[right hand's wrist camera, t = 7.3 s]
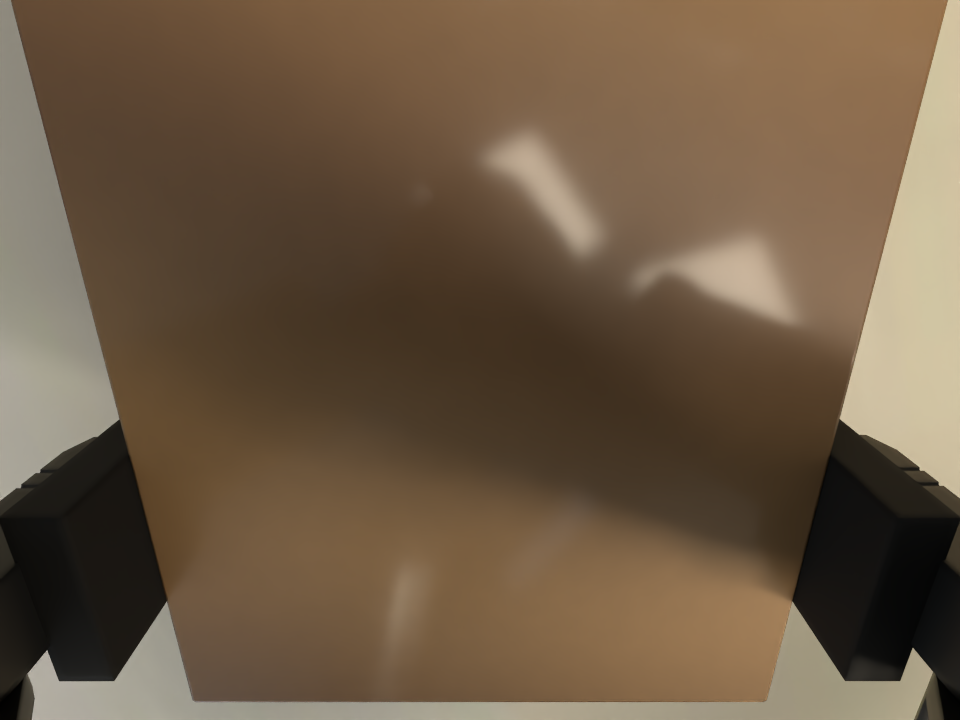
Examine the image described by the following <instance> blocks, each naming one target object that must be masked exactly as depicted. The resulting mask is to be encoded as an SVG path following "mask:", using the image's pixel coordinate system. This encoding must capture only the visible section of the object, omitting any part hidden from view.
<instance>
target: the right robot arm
mask: <svg viewBox="0 0 960 720" xmlns="http://www.w3.org/2000/svg"><path fill="white" fill-rule="evenodd" d="M40 471H41V472H40V473H36V474H34V475H33V476H32V477H30V478H29V479H28V480H27V481H25V482H24V483H23V484H21V488H16V489H15V490H14V491H12V492H11V493H10V494H9V495H7V496H6V497H5V498H3V499H2V500H1V501H0V720H31V719H32V713H33V706H34V699H35V698H34V693H33V687H32V684H31V682H30V679H29V677H28V674H27V673H28V672H29V671H30V670H31V669H32V667H33V666H34V665H35V664H36V663H37V661H38V660H39V659H40V658H41V657H42V655H43V654H44V653H45V652H46V651H47V650H48V653H49V655H50V658H51V661H52V663H53V666H54V669H55V671H56V674H57V677H58V679H59V681H114V680H115V679H116V677H117V676H118V674H119V673H120V671H121V670H122V668H123V667H124V665H125V664H126V662H127V661H128V659H129V658H130V656H131V655H132V653H133V652H134V650H135V649H136V647H137V646H138V644H139V643H140V641H141V640H142V638H143V637H144V635H145V634H146V632H147V631H148V629H149V627H150V626H151V624H152V623H153V621H154V620H155V618H156V617H157V615H158V614H159V612H160V611H161V609H162V608H163V606H164V605H165V603H166V602H167V599H166V595H165V592H164V588H163V584H162V580H161V576H160V572H159V568H158V565H157V561H156V557H155V553H154V549H153V545H152V542H151V538H150V534H149V530H148V526H147V522H146V518H145V515H144V511H143V507H142V503H141V499H140V495H139V491H138V488H137V484H136V480H135V476H134V472H133V468H132V465H131V461H130V457H129V453H128V449H127V445H126V441H125V438H124V434H123V430H122V426H121V422H120V419H119V420H118V421H117V422H116V423H114V424H113V425H112V426H111V427H109V428H108V429H107V430H106V431H104V432H103V433H102V434H101V435H100V436H98V437H93V438H91V439H89V440H87V441H85V442H83V443H81V444H79V445H77V446H75V447H73V448H71V449H68V450H66V451H64V452H63V453H61V454H60V455H59V456H57V457H56V458H55V459H54V460H52V461H51V462H50V463H48V464H47V465H46V466H45V467H43V468H42V469H41V470H40ZM938 483H939V482H938V481H936V480H935V479H934V478H933V477H931V476H930V475H929V474H927V473H926V472H925V471H920V470H919V467H918V466H917V465H916V464H914V463H913V462H912V461H910V460H909V459H908V458H907V457H905V456H904V455H903V454H901V453H900V452H899V451H898V450H896V449H894V448H892V447H890V446H888V445H886V444H884V443H881V442H879V441H877V440H875V439H873V438H871V437H869V436H867V435H859V434H857V433H856V432H855V431H854V430H852V429H851V428H850V427H849V426H847V425H846V424H845V423H844V422H842V421H841V420H840V419H839V422H838V426H837V430H836V434H835V438H834V442H833V446H832V449H831V453H830V457H829V461H828V465H827V469H826V473H825V477H824V480H823V484H822V488H821V492H820V496H819V500H818V504H817V507H816V511H815V515H814V519H813V523H812V527H811V531H810V534H809V538H808V542H807V546H806V550H805V554H804V558H803V561H802V565H801V569H800V573H799V577H798V581H797V585H796V588H795V592H794V596H793V600H792V601H793V603H794V604H795V606H796V607H797V609H798V610H799V612H800V613H801V615H802V616H803V618H804V619H805V621H806V622H807V624H808V625H809V627H810V628H811V630H812V631H813V633H814V634H815V636H816V638H817V639H818V641H819V642H820V644H821V645H822V647H823V648H824V650H825V651H826V653H827V654H828V656H829V657H830V659H831V660H832V662H833V663H834V665H835V666H836V668H837V669H838V671H839V672H840V674H841V675H842V677H843V678H844V680H845V681H900V680H901V677H902V674H903V672H904V669H905V666H906V664H907V661H908V659H909V656H910V653H911V651H912V648H914V649H915V650H916V652H917V653H918V654H919V655H920V656H921V658H922V659H923V660H924V661H925V662H926V664H927V665H928V666H929V667H930V668H931V670H932V671H933V674H932V677H931V679H930V682H929V684H928V687H927V689H926V692H925V694H924V697H923V699H922V702H921V704H920V707H919V709H918V712H917V714H916V717H915V719H914V720H960V498H958V497H957V496H956V495H955V494H953V493H952V492H951V491H949V490H948V489H947V488H945V487H944V486H939V484H938Z"/></svg>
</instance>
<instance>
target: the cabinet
mask: <svg viewBox="0 0 960 720" xmlns="http://www.w3.org/2000/svg"><path fill="white" fill-rule="evenodd" d="M947 2H948V0H11V3H12V6H13V10H14V14H15V18H16V22H17V26H18V30H19V33H20V37H21V41H22V45H23V49H24V53H25V56H26V60H27V64H28V68H29V72H30V76H31V80H32V83H33V87H34V91H35V95H36V99H37V103H38V107H39V110H40V114H41V118H42V122H43V126H44V130H45V133H46V137H47V141H48V145H49V149H50V153H51V157H52V160H53V164H54V168H55V172H56V176H57V180H58V184H59V187H60V191H61V195H62V199H63V203H64V207H65V210H66V214H67V218H68V222H69V226H70V230H71V234H72V237H73V241H74V245H75V249H76V253H77V257H78V261H79V264H80V268H81V272H82V276H83V280H84V284H85V287H86V291H87V295H88V299H89V303H90V307H91V311H92V314H93V318H94V322H95V326H96V330H97V334H98V338H99V341H100V345H101V349H102V353H103V357H104V361H105V364H106V368H107V372H108V376H109V380H110V384H111V388H112V391H113V395H114V399H115V403H116V407H117V411H118V414H119V418H120V422H121V426H122V430H123V434H124V438H125V441H126V445H127V449H128V453H129V457H130V461H131V465H132V468H133V472H134V476H135V480H136V484H137V488H138V491H139V495H140V499H141V503H142V507H143V511H144V515H145V518H146V522H147V526H148V530H149V534H150V538H151V542H152V545H153V549H154V553H155V557H156V561H157V565H158V568H159V572H160V576H161V580H162V584H163V588H164V592H165V595H166V599H167V603H168V607H169V611H170V615H171V619H172V622H173V626H174V630H175V634H176V638H177V642H178V645H179V649H180V653H181V657H182V661H183V665H184V669H185V672H186V676H187V680H188V684H189V688H190V692H191V696H192V699H193V701H195V702H764V701H766V700H767V697H768V693H769V689H770V685H771V681H772V677H773V673H774V670H775V666H776V662H777V658H778V654H779V650H780V646H781V643H782V639H783V635H784V631H785V627H786V623H787V619H788V616H789V612H790V608H791V604H792V600H793V596H794V592H795V588H796V585H797V581H798V577H799V573H800V569H801V565H802V561H803V558H804V554H805V550H806V546H807V542H808V538H809V534H810V531H811V527H812V523H813V519H814V515H815V511H816V507H817V504H818V500H819V496H820V492H821V488H822V484H823V480H824V477H825V473H826V469H827V465H828V461H829V457H830V453H831V449H832V446H833V442H834V438H835V434H836V430H837V426H838V422H839V419H840V415H841V411H842V407H843V403H844V399H845V395H846V392H847V388H848V384H849V380H850V376H851V372H852V368H853V365H854V361H855V357H856V353H857V349H858V345H859V341H860V338H861V334H862V330H863V326H864V322H865V318H866V314H867V311H868V307H869V303H870V299H871V295H872V291H873V287H874V283H875V280H876V276H877V272H878V268H879V264H880V260H881V256H882V253H883V249H884V245H885V241H886V237H887V233H888V229H889V226H890V222H891V218H892V214H893V210H894V206H895V202H896V199H897V195H898V191H899V187H900V183H901V179H902V175H903V172H904V168H905V164H906V160H907V156H908V152H909V148H910V144H911V141H912V137H913V133H914V129H915V125H916V121H917V117H918V114H919V110H920V106H921V102H922V98H923V94H924V90H925V87H926V83H927V79H928V75H929V71H930V67H931V63H932V60H933V56H934V52H935V48H936V44H937V40H938V36H939V33H940V29H941V25H942V21H943V17H944V13H945V9H946V5H947Z"/></svg>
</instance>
